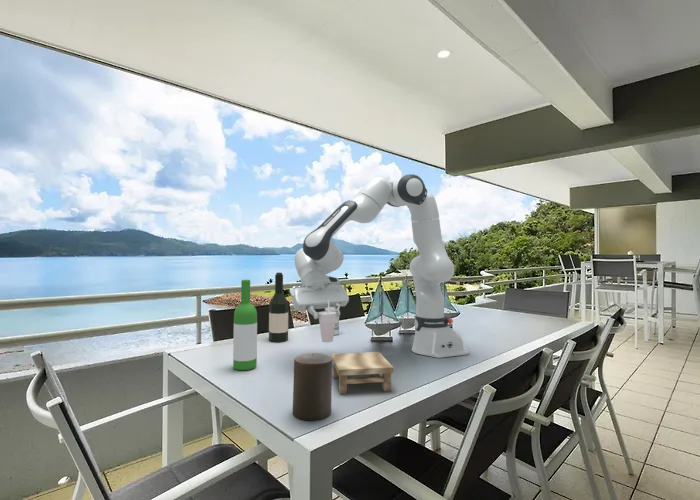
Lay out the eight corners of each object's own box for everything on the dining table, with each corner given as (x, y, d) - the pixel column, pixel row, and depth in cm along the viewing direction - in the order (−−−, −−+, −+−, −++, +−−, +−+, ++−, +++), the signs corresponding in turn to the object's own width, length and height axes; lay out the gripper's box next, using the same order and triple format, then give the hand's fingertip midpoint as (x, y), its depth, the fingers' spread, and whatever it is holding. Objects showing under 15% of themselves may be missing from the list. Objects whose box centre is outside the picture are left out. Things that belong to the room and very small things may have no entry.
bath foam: (341, 333, 179) (342, 291, 179) (334, 336, 173) (335, 293, 173) (329, 331, 182) (329, 291, 182) (321, 334, 176) (322, 292, 176)
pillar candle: (310, 425, 87) (312, 360, 87) (284, 412, 93) (286, 352, 93) (339, 412, 94) (340, 352, 94) (313, 401, 100) (314, 345, 100)
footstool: (378, 372, 123) (379, 351, 123) (393, 391, 108) (393, 367, 107) (330, 375, 120) (331, 353, 120) (338, 394, 105) (338, 370, 105)
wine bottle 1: (257, 363, 132) (258, 278, 131) (255, 370, 124) (256, 281, 124) (234, 364, 130) (235, 279, 130) (231, 371, 123) (232, 281, 122)
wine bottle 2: (278, 337, 170) (279, 271, 170) (291, 340, 165) (292, 272, 165) (264, 340, 163) (265, 272, 163) (278, 343, 159) (278, 273, 158)
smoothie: (334, 343, 122) (333, 301, 122) (315, 343, 124) (315, 301, 123) (338, 339, 129) (338, 298, 128) (320, 338, 130) (320, 298, 130)
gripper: (290, 281, 127) (301, 314, 118) (342, 278, 137) (356, 308, 129) (285, 292, 130) (296, 325, 122) (337, 289, 141) (350, 319, 132)
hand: (327, 316), depth 125 cm, fingers closed on smoothie, 6 cm apart
